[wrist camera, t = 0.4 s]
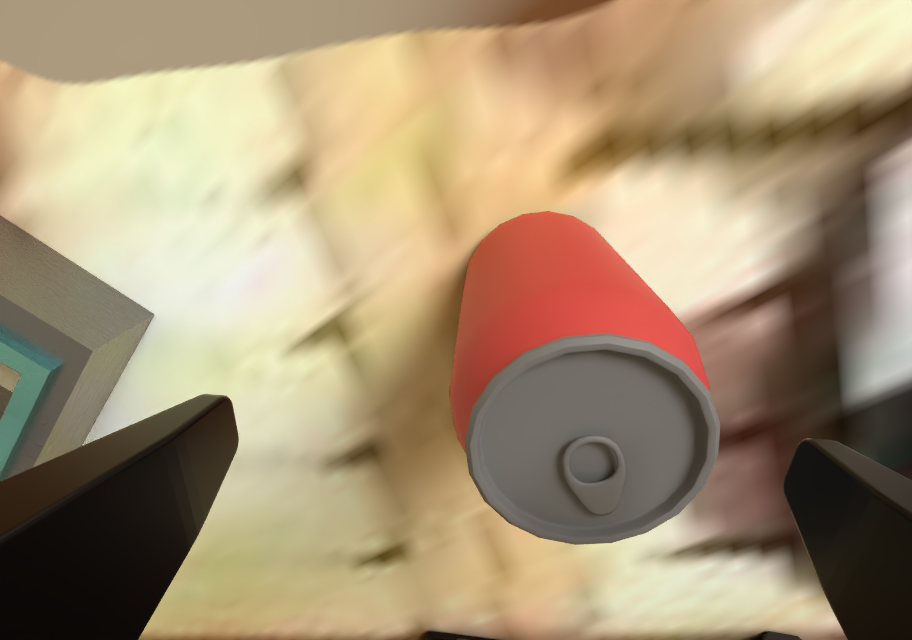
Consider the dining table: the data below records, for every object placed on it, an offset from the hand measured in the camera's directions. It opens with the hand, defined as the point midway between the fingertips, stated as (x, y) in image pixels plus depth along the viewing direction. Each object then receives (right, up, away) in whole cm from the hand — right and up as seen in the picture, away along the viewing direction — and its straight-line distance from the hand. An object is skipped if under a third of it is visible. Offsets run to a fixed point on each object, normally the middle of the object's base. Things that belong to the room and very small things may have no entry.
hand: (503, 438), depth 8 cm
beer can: (+3, +4, +14) cm, 15 cm away
